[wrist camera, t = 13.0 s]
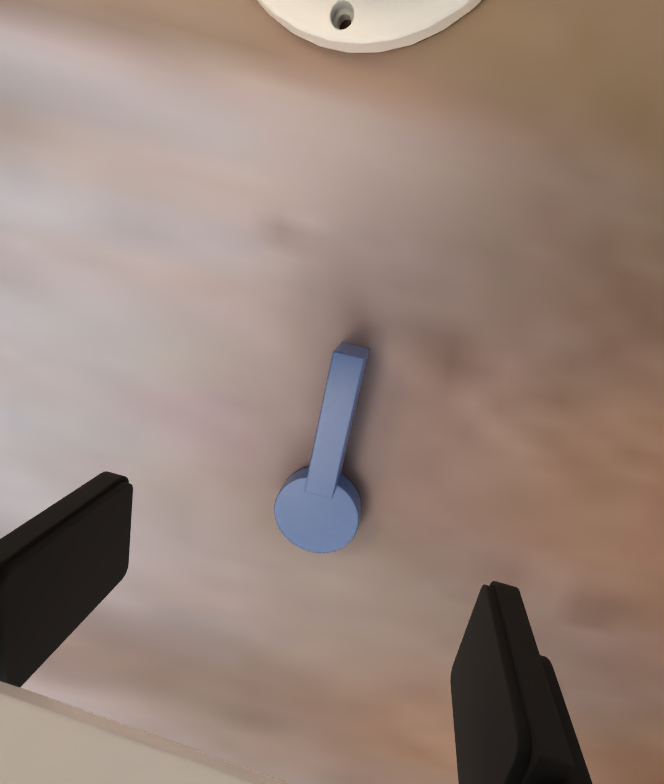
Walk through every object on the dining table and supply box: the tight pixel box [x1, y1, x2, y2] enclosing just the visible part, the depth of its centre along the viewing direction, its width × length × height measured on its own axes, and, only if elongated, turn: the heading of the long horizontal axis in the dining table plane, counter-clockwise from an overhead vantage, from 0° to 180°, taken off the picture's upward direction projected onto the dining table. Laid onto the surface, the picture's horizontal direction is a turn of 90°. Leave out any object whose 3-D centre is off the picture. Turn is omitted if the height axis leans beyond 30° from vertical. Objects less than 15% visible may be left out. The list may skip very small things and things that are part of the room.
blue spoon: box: [274, 342, 370, 553], centre depth 21 cm, size 11×4×2 cm, turn 169°
